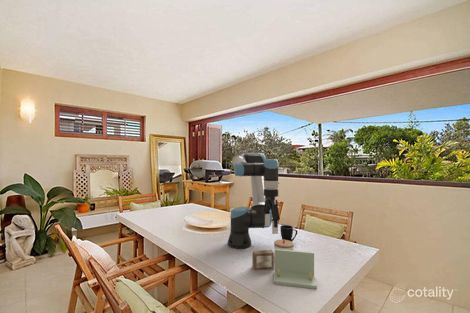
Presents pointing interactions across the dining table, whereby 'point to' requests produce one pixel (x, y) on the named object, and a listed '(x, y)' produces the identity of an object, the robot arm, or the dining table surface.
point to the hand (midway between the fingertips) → (271, 229)
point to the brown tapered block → (263, 259)
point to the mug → (287, 232)
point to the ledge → (294, 268)
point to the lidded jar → (283, 244)
